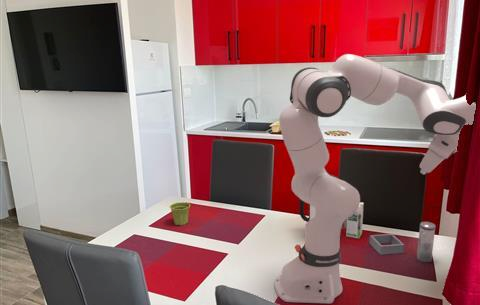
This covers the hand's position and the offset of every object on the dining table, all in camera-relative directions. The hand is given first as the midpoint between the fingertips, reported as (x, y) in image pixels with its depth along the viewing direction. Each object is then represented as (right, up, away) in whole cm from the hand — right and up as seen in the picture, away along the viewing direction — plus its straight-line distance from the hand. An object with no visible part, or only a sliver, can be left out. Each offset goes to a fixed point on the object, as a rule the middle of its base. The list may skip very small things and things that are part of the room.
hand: (428, 165), depth 131 cm
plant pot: (-93, -29, +49) cm, 109 cm away
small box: (-19, -29, +41) cm, 54 cm away
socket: (-7, -34, +21) cm, 40 cm away
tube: (+4, -35, +12) cm, 38 cm away
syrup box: (-16, -31, +33) cm, 48 cm away
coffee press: (-31, -32, +31) cm, 54 cm away
